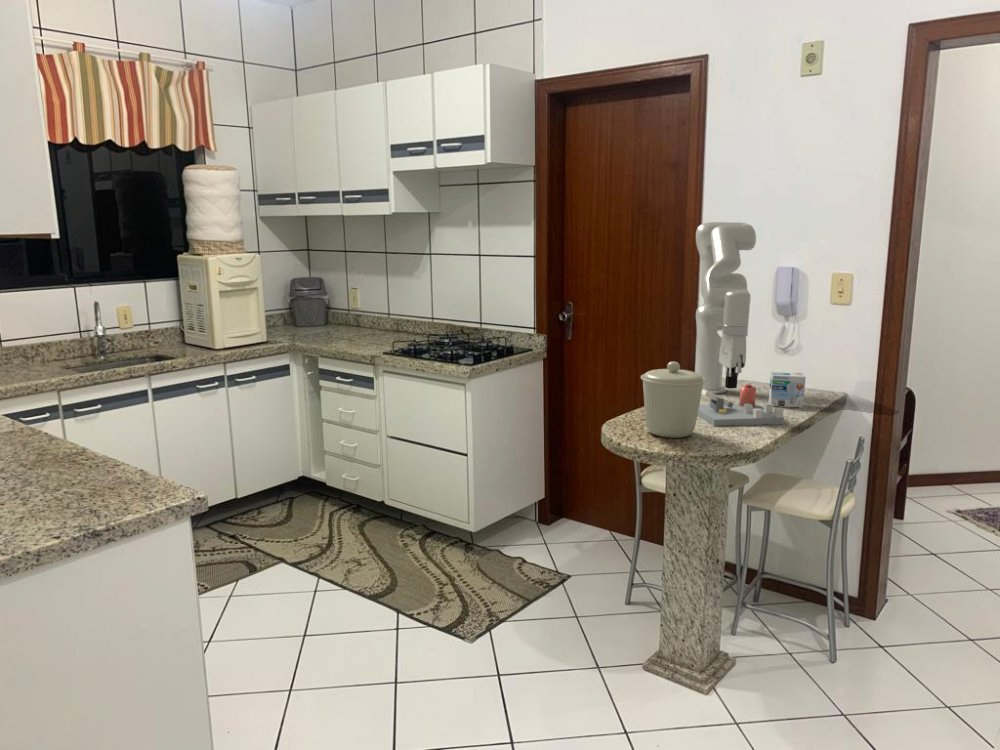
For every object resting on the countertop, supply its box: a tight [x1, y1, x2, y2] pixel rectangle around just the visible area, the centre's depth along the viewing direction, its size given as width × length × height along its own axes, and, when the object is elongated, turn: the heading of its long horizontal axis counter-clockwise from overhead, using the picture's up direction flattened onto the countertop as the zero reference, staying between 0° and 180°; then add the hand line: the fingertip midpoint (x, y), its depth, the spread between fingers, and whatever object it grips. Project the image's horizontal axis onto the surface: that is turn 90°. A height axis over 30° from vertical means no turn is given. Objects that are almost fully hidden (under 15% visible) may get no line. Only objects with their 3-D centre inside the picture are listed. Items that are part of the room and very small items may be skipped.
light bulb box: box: [767, 371, 807, 409], centre depth 256 cm, size 11×7×11 cm, turn 76°
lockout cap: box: [738, 383, 757, 407], centre depth 247 cm, size 5×5×7 cm
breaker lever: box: [701, 389, 735, 408], centre depth 242 cm, size 4×10×2 cm, turn 98°
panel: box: [697, 394, 785, 427], centre depth 240 cm, size 19×22×6 cm
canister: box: [640, 361, 706, 439], centre depth 219 cm, size 18×18×21 cm
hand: (730, 387), depth 243 cm, fingers closed
